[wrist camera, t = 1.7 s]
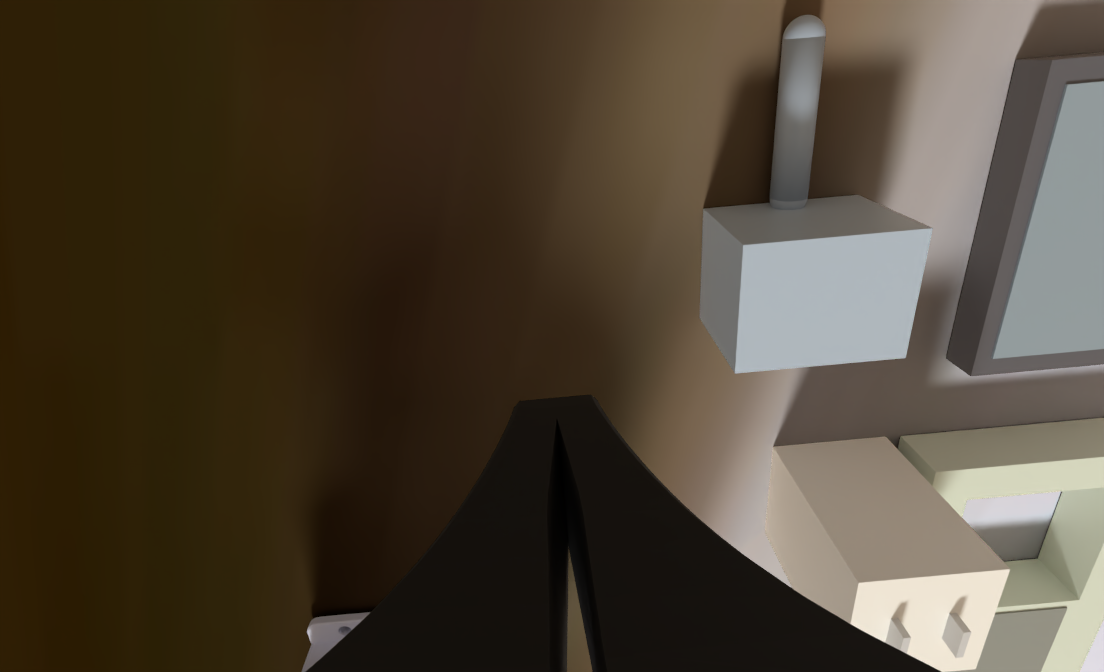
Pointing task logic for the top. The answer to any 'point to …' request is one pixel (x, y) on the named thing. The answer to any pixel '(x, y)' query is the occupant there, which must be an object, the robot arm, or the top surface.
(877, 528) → the charger
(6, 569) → the top surface
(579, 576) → the robot arm
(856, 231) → the cable plug
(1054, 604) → the outlet plate
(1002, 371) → the phone
